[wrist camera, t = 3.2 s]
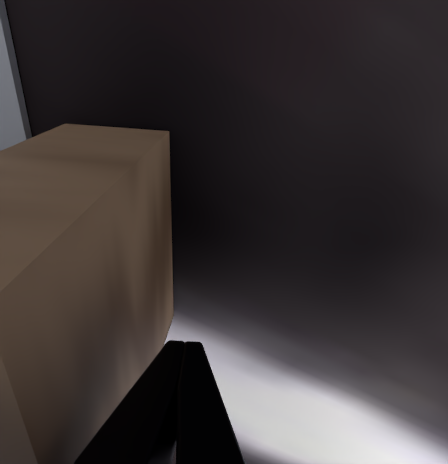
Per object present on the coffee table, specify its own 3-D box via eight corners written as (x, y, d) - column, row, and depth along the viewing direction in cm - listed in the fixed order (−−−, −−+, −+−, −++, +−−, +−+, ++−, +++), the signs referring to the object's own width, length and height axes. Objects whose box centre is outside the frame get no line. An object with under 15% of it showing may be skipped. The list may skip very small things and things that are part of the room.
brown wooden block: (173, 315, 16) (81, 590, 8) (94, 306, 16) (-72, 565, 8) (169, 131, 12) (-16, 307, 4) (65, 123, 12) (-297, 275, 4)
